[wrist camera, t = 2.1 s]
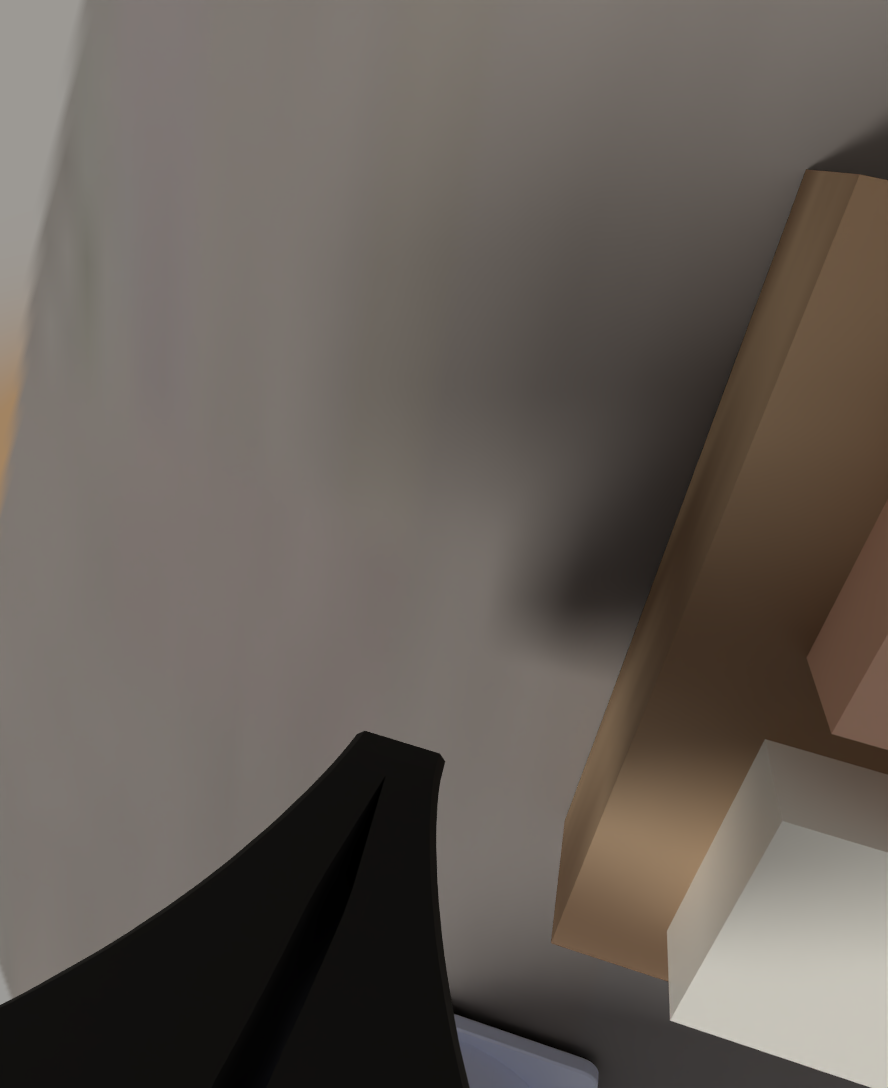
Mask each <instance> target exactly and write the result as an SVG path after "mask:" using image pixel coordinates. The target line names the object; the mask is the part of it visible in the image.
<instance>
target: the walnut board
mask: <svg viewBox="0 0 888 1088" xmlns="http://www.w3.org/2000/svg"><path fill="white" fill-rule="evenodd" d="M887 499H888V180H884V179H880V178H875V177H870V176H865V175H860V174H850V173H839V172H829V171H818V170H807V169H806V171H805V174H804V177H803V179H802V182H801V185H800V188H799V190H798V193H797V196H796V198H795V201H794V204H793V206H792V209H791V212H790V215H789V217H788V220H787V223H786V225H785V228H784V231H783V233H782V236H781V239H780V242H779V244H778V247H777V250H776V252H775V255H774V258H773V260H772V263H771V266H770V269H769V271H768V274H767V277H766V279H765V282H764V285H763V287H762V290H761V293H760V296H759V298H758V301H757V304H756V306H755V309H754V312H753V314H752V317H751V320H750V323H749V325H748V328H747V331H746V333H745V336H744V339H743V341H742V344H741V347H740V350H739V352H738V355H737V358H736V360H735V363H734V366H733V368H732V371H731V374H730V377H729V379H728V382H727V385H726V387H725V390H724V393H723V395H722V398H721V401H720V404H719V406H718V409H717V412H716V414H715V417H714V420H713V422H712V425H711V428H710V431H709V433H708V436H707V439H706V441H705V444H704V447H703V449H702V452H701V455H700V458H699V460H698V463H697V466H696V468H695V471H694V474H693V476H692V479H691V482H690V485H689V487H688V490H687V493H686V495H685V498H684V501H683V503H682V506H681V509H680V512H679V514H678V517H677V520H676V522H675V525H674V528H673V530H672V533H671V536H670V538H669V541H668V544H667V547H666V549H665V552H664V555H663V557H662V560H661V563H660V565H659V568H658V571H657V574H656V576H655V579H654V582H653V584H652V587H651V590H650V592H649V595H648V598H647V601H646V603H645V606H644V609H643V611H642V614H641V617H640V619H639V622H638V625H637V628H636V630H635V633H634V636H633V638H632V641H631V644H630V646H629V649H628V652H627V655H626V657H625V660H624V663H623V665H622V668H621V671H620V673H619V676H618V679H617V682H616V684H615V687H614V690H613V692H612V695H611V698H610V700H609V703H608V706H607V709H606V711H605V714H604V717H603V719H602V722H601V725H600V727H599V730H598V733H597V736H596V738H595V741H594V744H593V746H592V749H591V752H590V754H589V757H588V760H587V763H586V765H585V768H584V771H583V773H582V776H581V779H580V781H579V784H578V787H577V790H576V792H575V795H574V798H573V800H572V803H571V806H570V808H569V811H568V814H567V817H566V819H565V824H564V833H563V842H562V850H561V859H560V868H559V877H558V886H557V895H556V903H555V912H554V921H553V930H552V939H551V943H552V944H555V945H558V946H561V947H564V948H567V949H570V950H574V951H577V952H580V953H583V954H586V955H589V956H592V957H595V958H598V959H601V960H604V961H607V962H610V963H613V964H616V965H619V966H622V967H625V968H628V969H631V970H634V971H637V972H641V973H644V974H647V975H650V976H653V977H656V978H659V979H662V980H665V981H668V982H669V977H668V948H667V930H668V928H669V926H670V924H671V922H672V920H673V918H674V916H675V914H676V912H677V910H678V908H679V906H680V904H681V903H682V901H683V899H684V897H685V895H686V893H687V891H688V889H689V887H690V885H691V883H692V881H693V879H694V877H695V875H696V873H697V871H698V869H699V867H700V865H701V863H702V861H703V859H704V857H705V856H706V854H707V852H708V850H709V848H710V846H711V844H712V842H713V840H714V838H715V836H716V834H717V832H718V830H719V828H720V826H721V824H722V822H723V820H724V818H725V816H726V814H727V812H728V811H729V809H730V807H731V805H732V803H733V801H734V799H735V797H736V795H737V793H738V791H739V789H740V787H741V785H742V783H743V781H744V779H745V777H746V775H747V773H748V771H749V769H750V767H751V766H752V764H753V762H754V760H755V758H756V756H757V754H758V752H759V750H760V748H761V746H762V744H763V742H764V740H765V739H766V740H770V741H773V742H777V743H780V744H784V745H787V746H791V747H794V748H797V749H801V750H804V751H808V752H811V753H815V754H818V755H822V756H825V757H829V758H832V759H835V760H839V761H842V762H846V763H849V764H853V765H856V766H860V767H863V768H866V769H870V770H873V771H877V772H880V773H884V774H887V775H888V750H886V749H882V748H879V747H875V746H872V745H868V744H865V743H861V742H858V741H855V740H851V739H848V738H844V737H841V736H837V735H834V734H831V731H830V728H829V725H828V722H827V719H826V716H825V713H824V710H823V707H822V704H821V701H820V697H819V694H818V691H817V688H816V685H815V682H814V679H813V676H812V673H811V670H810V667H809V664H808V661H807V656H808V654H809V652H810V650H811V648H812V646H813V644H814V642H815V640H816V638H817V636H818V634H819V632H820V630H821V629H822V627H823V625H824V623H825V621H826V619H827V617H828V615H829V613H830V611H831V609H832V607H833V605H834V603H835V601H836V599H837V597H838V595H839V593H840V591H841V589H842V587H843V585H844V584H845V582H846V580H847V578H848V576H849V574H850V572H851V570H852V568H853V566H854V564H855V562H856V560H857V558H858V556H859V554H860V552H861V550H862V548H863V546H864V544H865V542H866V540H867V538H868V537H869V535H870V533H871V531H872V529H873V527H874V525H875V523H876V521H877V519H878V517H879V515H880V513H881V511H882V509H883V507H884V505H885V503H886V501H887Z"/></svg>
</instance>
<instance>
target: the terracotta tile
mask: <svg viewBox="0 0 888 1088" xmlns="http://www.w3.org/2000/svg"><path fill="white" fill-rule="evenodd" d="M807 661H808V664H809V667H810V670H811V673H812V676H813V679H814V682H815V685H816V688H817V691H818V694H819V697H820V701H821V704H822V707H823V710H824V713H825V716H826V719H827V722H828V725H829V728H830V731H831V734H834V735H837V736H841V737H844V738H848V739H851V740H855V741H858V742H861V743H865V744H868V745H872V746H875V747H879V748H882V749H886V750H888V499H887V501H886V503H885V505H884V507H883V509H882V511H881V513H880V515H879V517H878V519H877V521H876V523H875V525H874V527H873V529H872V531H871V533H870V535H869V537H868V538H867V540H866V542H865V544H864V546H863V548H862V550H861V552H860V554H859V556H858V558H857V560H856V562H855V564H854V566H853V568H852V570H851V572H850V574H849V576H848V578H847V580H846V582H845V584H844V585H843V587H842V589H841V591H840V593H839V595H838V597H837V599H836V601H835V603H834V605H833V607H832V609H831V611H830V613H829V615H828V617H827V619H826V621H825V623H824V625H823V627H822V629H821V630H820V632H819V634H818V636H817V638H816V640H815V642H814V644H813V646H812V648H811V650H810V652H809V654H808V656H807Z"/></svg>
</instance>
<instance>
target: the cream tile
mask: <svg viewBox="0 0 888 1088" xmlns="http://www.w3.org/2000/svg"><path fill="white" fill-rule="evenodd" d="M667 948H668V977H669V1006H670V1021H673V1022H676V1023H679V1024H682V1025H685V1026H688V1027H691V1028H694V1029H697V1030H700V1031H703V1032H706V1033H709V1034H712V1035H715V1036H718V1037H721V1038H724V1039H727V1040H730V1041H733V1042H736V1043H739V1044H742V1045H745V1046H748V1047H751V1048H754V1049H757V1050H760V1051H763V1052H766V1053H769V1054H772V1055H775V1056H778V1057H781V1058H784V1059H787V1060H790V1061H793V1062H796V1063H799V1064H802V1065H805V1066H808V1067H811V1068H814V1069H817V1070H820V1071H823V1072H826V1073H829V1074H832V1075H835V1076H838V1077H841V1078H844V1079H847V1080H850V1081H853V1082H856V1083H859V1084H862V1085H865V1086H868V1087H871V1088H888V775H887V774H884V773H880V772H877V771H873V770H870V769H866V768H863V767H860V766H856V765H853V764H849V763H846V762H842V761H839V760H835V759H832V758H829V757H825V756H822V755H818V754H815V753H811V752H808V751H804V750H801V749H797V748H794V747H791V746H787V745H784V744H780V743H777V742H773V741H770V740H766V739H765V740H764V742H763V744H762V746H761V748H760V750H759V752H758V754H757V756H756V758H755V760H754V762H753V764H752V766H751V767H750V769H749V771H748V773H747V775H746V777H745V779H744V781H743V783H742V785H741V787H740V789H739V791H738V793H737V795H736V797H735V799H734V801H733V803H732V805H731V807H730V809H729V811H728V812H727V814H726V816H725V818H724V820H723V822H722V824H721V826H720V828H719V830H718V832H717V834H716V836H715V838H714V840H713V842H712V844H711V846H710V848H709V850H708V852H707V854H706V856H705V857H704V859H703V861H702V863H701V865H700V867H699V869H698V871H697V873H696V875H695V877H694V879H693V881H692V883H691V885H690V887H689V889H688V891H687V893H686V895H685V897H684V899H683V901H682V903H681V904H680V906H679V908H678V910H677V912H676V914H675V916H674V918H673V920H672V922H671V924H670V926H669V928H668V930H667Z"/></svg>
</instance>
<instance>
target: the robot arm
mask: <svg viewBox="0 0 888 1088" xmlns="http://www.w3.org/2000/svg"><path fill="white" fill-rule="evenodd" d="M444 764H445V761H444V759H443V758H442V756H441V755H440V754H439V753H436V752H433V751H429V750H426V749H423V748H420V747H416V746H413V745H410V744H406V743H403V742H400V741H397V740H393V739H390V738H387V737H383V736H380V735H377V734H374V733H370V732H367V731H363V732H361V733H359V734H357V735H356V736H355V738H354V739H353V740H352V741H351V743H350V744H349V745H348V746H347V748H346V749H345V750H344V751H343V752H342V753H341V755H340V756H339V757H338V758H337V759H336V760H335V762H334V763H333V764H332V765H331V766H330V767H329V768H328V769H327V770H326V771H325V772H324V773H323V774H322V775H321V777H320V778H319V779H318V780H317V781H316V782H315V783H314V784H313V785H312V786H311V787H310V788H309V789H308V790H307V791H306V792H305V793H304V794H303V795H302V796H301V797H300V798H299V799H297V800H296V801H295V802H294V803H293V804H292V805H291V806H290V807H289V808H288V809H287V810H286V811H285V812H284V813H283V814H282V815H281V816H280V817H279V818H278V819H276V820H275V821H274V822H273V823H272V824H271V825H270V826H269V827H268V828H266V829H265V830H264V831H263V832H262V833H261V834H259V835H258V836H257V837H256V838H255V839H254V840H252V841H251V842H250V843H249V844H248V845H246V846H245V847H244V848H243V849H242V850H241V851H239V852H238V853H237V854H236V855H235V856H234V857H232V858H231V859H230V860H229V861H227V862H226V863H225V864H224V865H222V866H221V867H220V868H219V869H217V870H216V871H215V872H213V873H212V874H211V875H210V876H208V877H207V878H206V879H204V880H203V881H202V882H200V883H199V884H198V885H196V886H195V887H194V888H192V889H191V890H190V891H188V892H187V893H185V894H184V895H183V896H181V897H180V898H178V899H177V900H176V901H174V902H173V903H171V904H170V905H169V906H167V907H166V908H164V909H163V910H161V911H160V912H158V913H157V914H155V915H154V916H152V917H151V918H149V919H148V920H146V921H145V922H143V923H142V924H140V925H139V926H137V927H136V928H134V929H133V930H131V931H130V932H128V933H127V934H125V935H123V936H122V937H120V938H119V939H117V940H115V941H114V942H112V943H111V944H109V945H107V946H106V947H104V948H102V949H101V950H99V951H97V952H96V953H94V954H92V955H90V956H89V957H87V958H85V959H83V960H82V961H80V962H78V963H76V964H75V965H73V966H71V967H69V968H68V969H66V970H64V971H62V972H60V973H59V974H57V975H55V976H53V977H52V978H50V979H48V980H46V981H45V982H43V983H41V984H39V985H38V986H36V987H34V988H32V989H30V990H29V991H27V992H25V993H23V994H21V995H19V996H17V997H15V998H13V999H11V1000H9V1001H7V1002H5V1003H3V1004H1V1005H0V1088H598V1074H599V1072H598V1070H597V1068H596V1066H595V1065H594V1064H593V1063H591V1062H590V1061H589V1060H586V1059H584V1058H582V1057H579V1056H576V1055H573V1054H570V1053H567V1052H564V1051H561V1050H558V1049H555V1048H553V1047H550V1046H547V1045H544V1044H541V1043H538V1042H535V1041H532V1040H529V1039H526V1038H523V1037H520V1036H518V1035H515V1034H512V1033H509V1032H506V1031H503V1030H500V1029H497V1028H494V1027H491V1026H488V1025H486V1024H483V1023H480V1022H477V1021H474V1020H471V1019H468V1018H465V1017H462V1016H459V1015H456V1014H454V1013H453V1008H452V1002H451V996H450V990H449V984H448V977H447V971H446V964H445V957H444V949H443V941H442V932H441V921H440V911H439V900H438V885H437V857H436V822H437V803H438V793H439V785H440V780H441V776H442V772H443V768H444Z"/></svg>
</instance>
